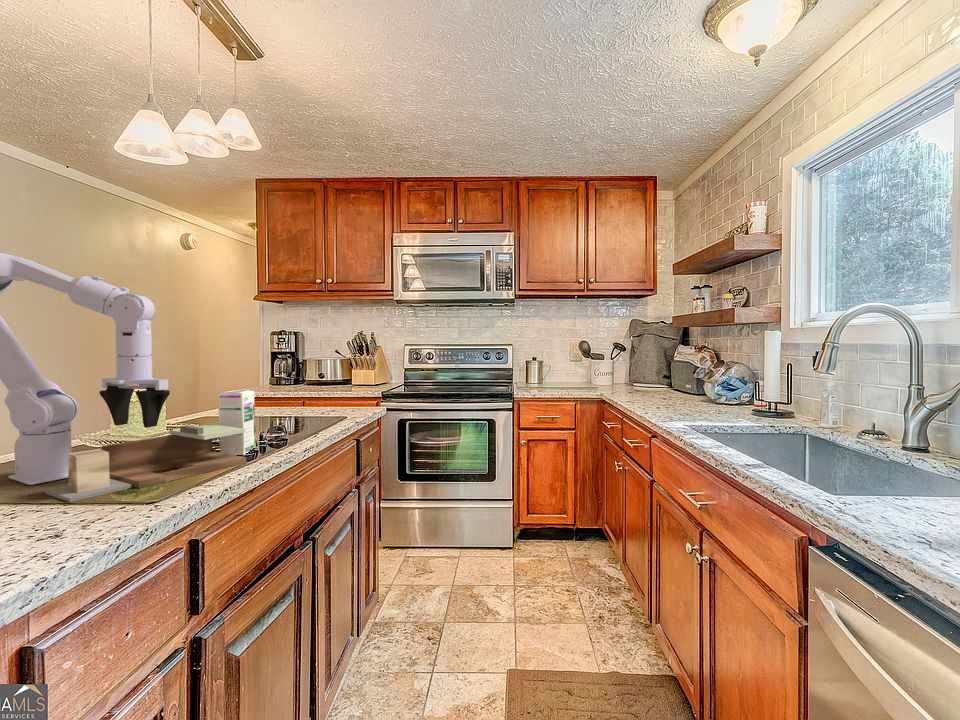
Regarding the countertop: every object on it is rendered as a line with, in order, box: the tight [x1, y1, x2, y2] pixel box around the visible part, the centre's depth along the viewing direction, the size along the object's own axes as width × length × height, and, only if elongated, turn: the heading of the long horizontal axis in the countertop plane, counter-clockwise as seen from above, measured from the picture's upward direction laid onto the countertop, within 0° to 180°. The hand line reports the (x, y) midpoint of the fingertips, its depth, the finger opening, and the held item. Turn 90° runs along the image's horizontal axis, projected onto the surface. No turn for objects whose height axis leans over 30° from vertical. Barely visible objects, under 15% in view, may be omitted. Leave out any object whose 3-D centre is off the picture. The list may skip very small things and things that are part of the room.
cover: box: [169, 423, 245, 440], centre depth 105 cm, size 12×9×2 cm
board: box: [100, 434, 247, 489], centre depth 99 cm, size 13×21×6 cm, turn 151°
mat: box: [44, 479, 132, 503], centre depth 85 cm, size 9×9×1 cm
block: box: [68, 448, 110, 493], centre depth 85 cm, size 4×4×6 cm
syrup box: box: [217, 389, 257, 456], centre depth 114 cm, size 6×6×14 cm
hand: (135, 425), depth 96 cm, fingers open, 7 cm apart
